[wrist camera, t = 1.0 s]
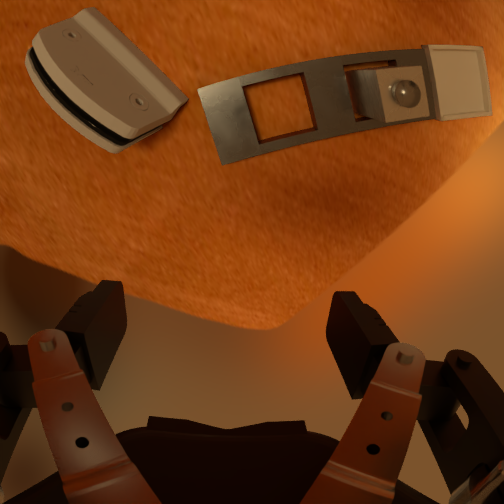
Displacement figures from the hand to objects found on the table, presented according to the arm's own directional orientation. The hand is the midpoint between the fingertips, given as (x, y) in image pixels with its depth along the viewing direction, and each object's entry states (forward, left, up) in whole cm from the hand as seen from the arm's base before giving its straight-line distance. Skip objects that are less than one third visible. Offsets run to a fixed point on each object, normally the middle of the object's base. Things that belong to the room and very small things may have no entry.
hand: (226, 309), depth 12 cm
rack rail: (-4, +11, -24) cm, 26 cm away
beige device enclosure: (-13, -9, -24) cm, 29 cm away
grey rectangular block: (-4, +16, -24) cm, 29 cm away
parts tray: (-4, +29, -24) cm, 37 cm away
